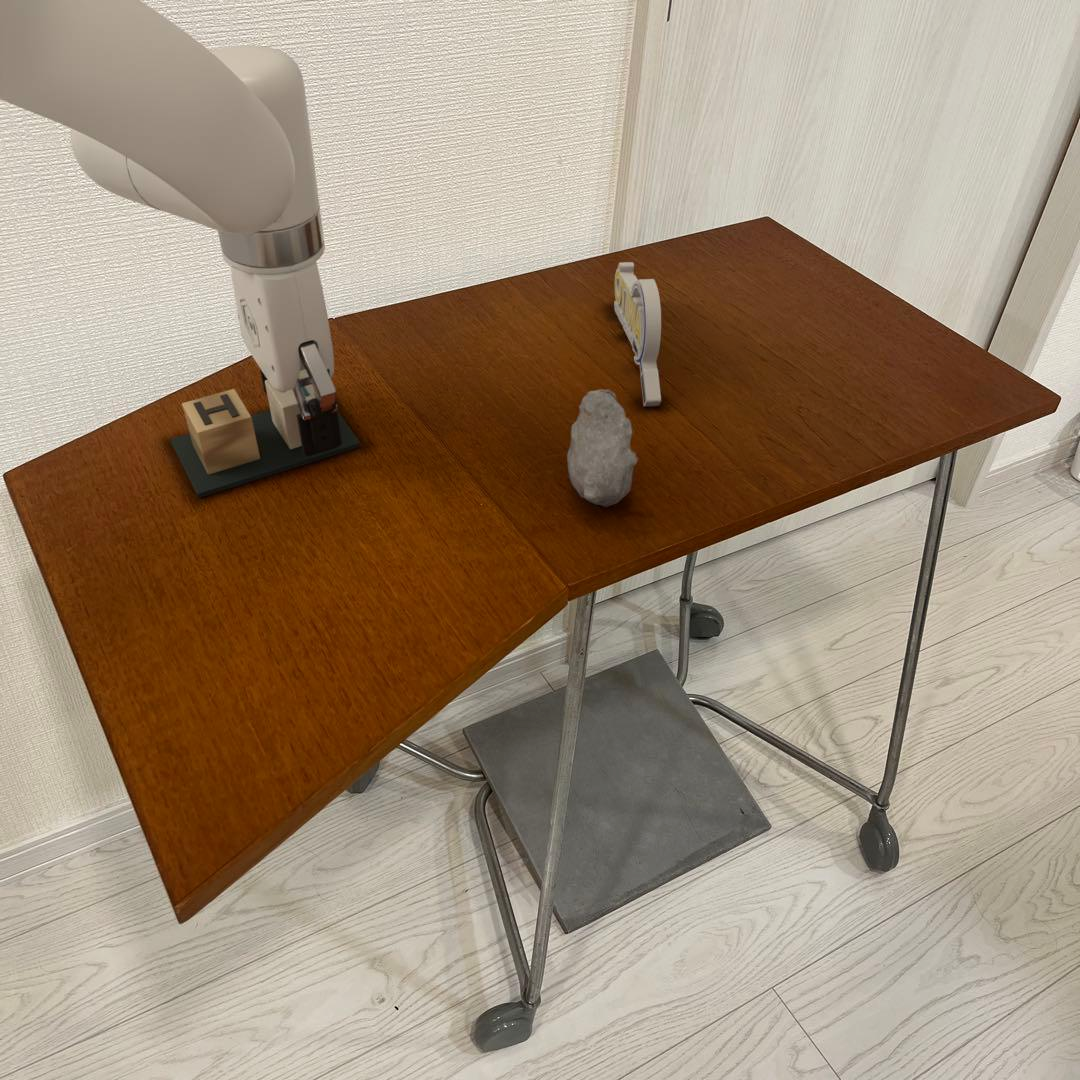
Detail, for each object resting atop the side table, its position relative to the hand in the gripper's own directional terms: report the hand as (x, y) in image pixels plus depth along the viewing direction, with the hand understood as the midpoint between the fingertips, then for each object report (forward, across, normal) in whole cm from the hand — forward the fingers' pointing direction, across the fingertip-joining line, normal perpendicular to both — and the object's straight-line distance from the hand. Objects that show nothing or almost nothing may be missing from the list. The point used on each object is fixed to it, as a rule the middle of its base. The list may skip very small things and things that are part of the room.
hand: (302, 418), depth 87 cm
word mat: (+2, 0, -3) cm, 4 cm away
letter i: (+1, 0, 0) cm, 1 cm away
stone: (+2, +19, +19) cm, 27 cm away
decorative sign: (+2, +3, +33) cm, 33 cm away
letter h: (+1, 0, -7) cm, 7 cm away
